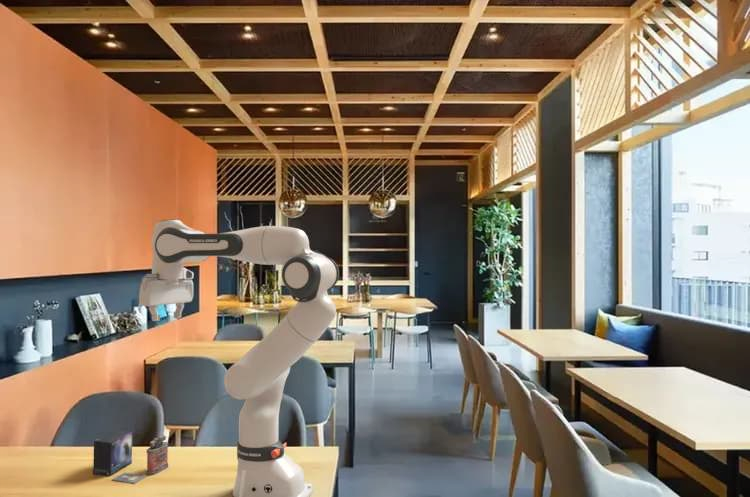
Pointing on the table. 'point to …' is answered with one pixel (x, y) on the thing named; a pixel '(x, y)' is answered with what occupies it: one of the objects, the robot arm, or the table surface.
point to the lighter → (157, 456)
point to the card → (129, 478)
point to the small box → (112, 452)
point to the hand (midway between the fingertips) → (167, 319)
